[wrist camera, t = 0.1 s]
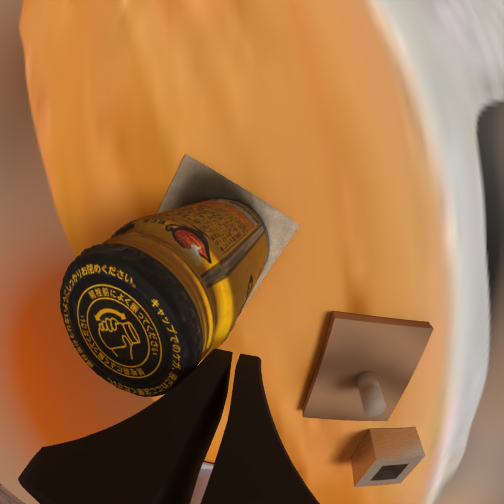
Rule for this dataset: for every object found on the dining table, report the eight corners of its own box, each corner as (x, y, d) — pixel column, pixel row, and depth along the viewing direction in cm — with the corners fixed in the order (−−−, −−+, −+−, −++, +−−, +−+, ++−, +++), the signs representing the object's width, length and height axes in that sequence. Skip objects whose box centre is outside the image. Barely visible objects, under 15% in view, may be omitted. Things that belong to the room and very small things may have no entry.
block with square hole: (393, 456, 24) (400, 483, 20) (351, 458, 25) (354, 486, 21) (415, 427, 23) (425, 455, 19) (369, 428, 23) (376, 459, 19)
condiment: (240, 312, 20) (167, 444, 9) (142, 245, 21) (10, 309, 9) (300, 223, 18) (280, 306, 7) (187, 154, 18) (41, 141, 7)
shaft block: (385, 413, 22) (395, 448, 18) (302, 408, 23) (302, 447, 19) (428, 322, 19) (452, 354, 15) (333, 311, 20) (342, 346, 16)
